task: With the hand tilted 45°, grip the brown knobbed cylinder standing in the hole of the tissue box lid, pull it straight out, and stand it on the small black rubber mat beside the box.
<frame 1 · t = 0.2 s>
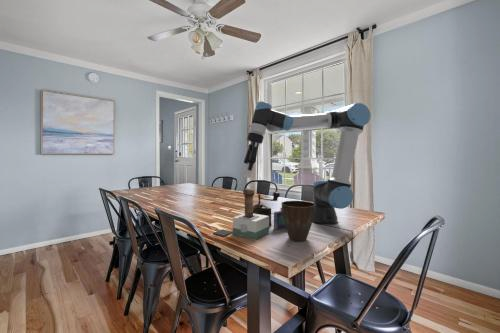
hand: (245, 176, 117), 27 cm above the table, tool tilted 15°, fingers open, 13 cm apart
brown knobbed cylinder: (248, 227, 116), point 3 cm above the table, touching tissue box
tissue box: (251, 233, 118), on the table
mat: (223, 233, 118), on the table
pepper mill: (263, 224, 134), on the table
plant pot: (298, 239, 110), on the table
flask: (282, 228, 126), on the table
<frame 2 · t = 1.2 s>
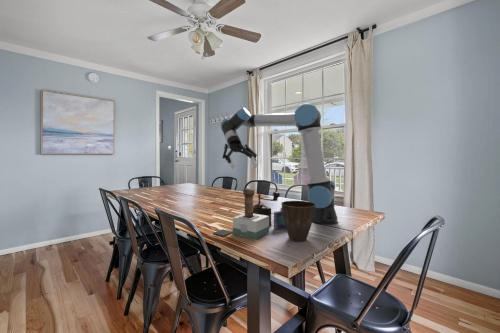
hand: (244, 166, 129), 32 cm above the table, tool tilted 45°, fingers open, 13 cm apart
nothing on the table moved.
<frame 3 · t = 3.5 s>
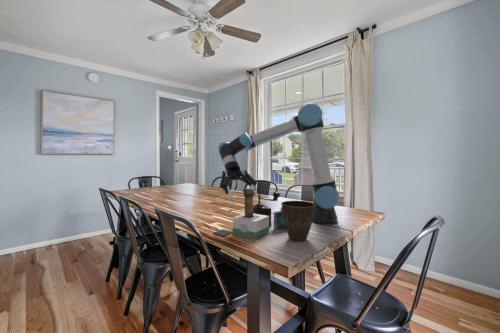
hand: (243, 197, 119), 17 cm above the table, tool tilted 45°, fingers open, 13 cm apart
nothing on the table moved.
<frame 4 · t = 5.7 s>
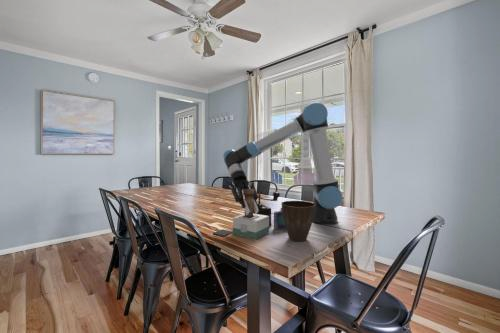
hand: (252, 212, 113), 11 cm above the table, tool tilted 45°, fingers closed on brown knobbed cylinder, 4 cm apart
brown knobbed cylinder: (248, 227, 116), point 3 cm above the table, touching gripper, tissue box
everything else where it was.
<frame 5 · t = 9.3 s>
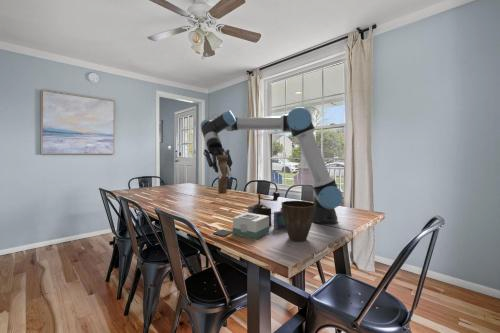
hand: (225, 176, 113), 28 cm above the table, tool tilted 45°, fingers closed on brown knobbed cylinder, 4 cm apart
brown knobbed cylinder: (222, 193, 117), point 20 cm above the table, touching gripper
everything else where it was.
when the fingers open (10 cm above the table, at t = 12.7 s): brown knobbed cylinder stays where it is, resting on mat.
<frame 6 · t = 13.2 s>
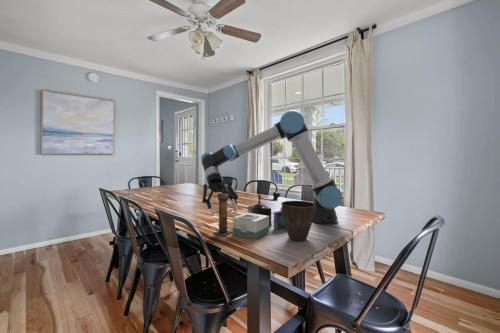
hand: (225, 212, 115), 11 cm above the table, tool tilted 45°, fingers open, 11 cm apart
brown knobbed cylinder: (223, 232, 118), point 1 cm above the table, touching mat
everything else where it was.
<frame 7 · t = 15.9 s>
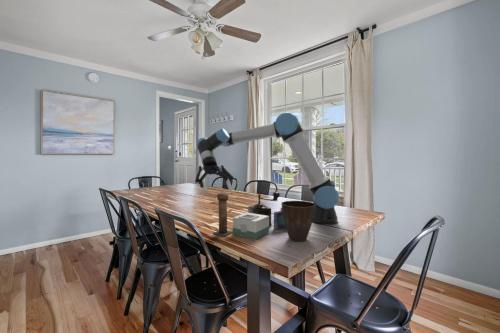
hand: (218, 191, 122), 20 cm above the table, tool tilted 45°, fingers open, 13 cm apart
nothing on the table moved.
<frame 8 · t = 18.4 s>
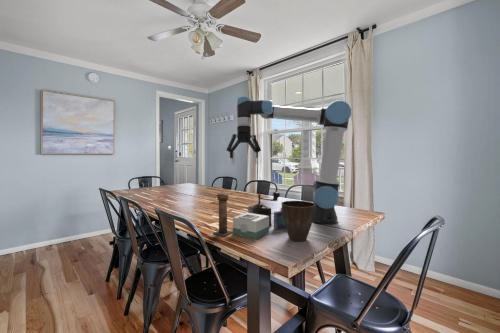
hand: (244, 164, 136), 33 cm above the table, tool pointing down, fingers open, 13 cm apart
nothing on the table moved.
at the end: brown knobbed cylinder inside the target area on the mat (0.0 cm from its centre), point 0.6 cm above the mat's base; brown knobbed cylinder touching mat; the gripper is holding nothing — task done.
